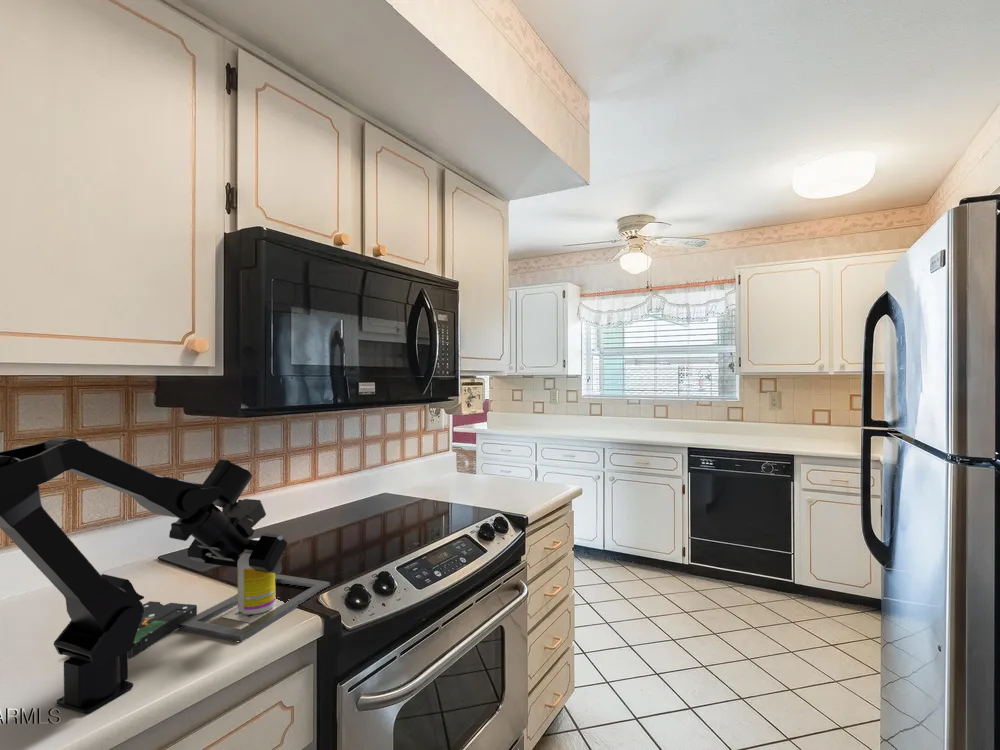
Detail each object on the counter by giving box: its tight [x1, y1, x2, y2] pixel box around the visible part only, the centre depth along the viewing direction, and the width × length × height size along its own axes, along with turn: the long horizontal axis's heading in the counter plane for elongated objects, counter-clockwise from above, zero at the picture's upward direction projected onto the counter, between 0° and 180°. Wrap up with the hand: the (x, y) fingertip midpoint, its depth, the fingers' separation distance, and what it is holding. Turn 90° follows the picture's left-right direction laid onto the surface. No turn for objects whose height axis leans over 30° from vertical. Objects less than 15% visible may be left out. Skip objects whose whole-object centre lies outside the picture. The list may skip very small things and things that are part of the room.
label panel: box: [178, 573, 331, 643], centre depth 103 cm, size 24×14×1 cm, turn 161°
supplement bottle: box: [236, 537, 277, 614], centre depth 102 cm, size 7×7×13 cm
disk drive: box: [128, 601, 198, 659], centre depth 92 cm, size 10×3×15 cm
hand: (261, 568), depth 103 cm, fingers open, 9 cm apart
